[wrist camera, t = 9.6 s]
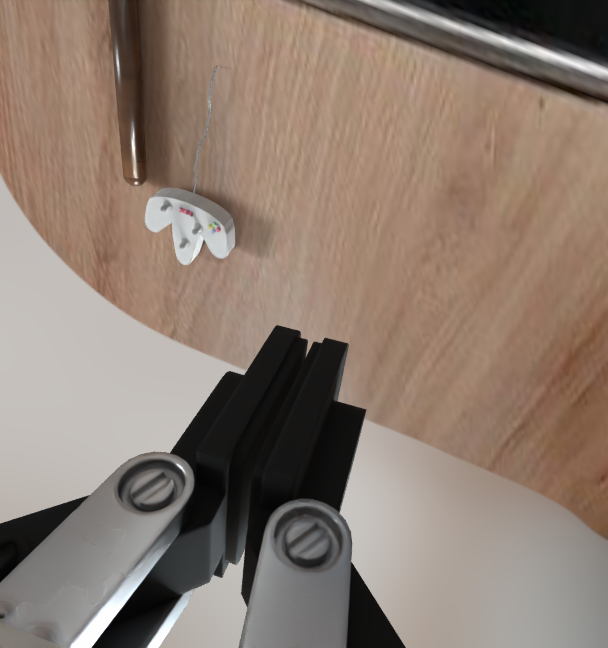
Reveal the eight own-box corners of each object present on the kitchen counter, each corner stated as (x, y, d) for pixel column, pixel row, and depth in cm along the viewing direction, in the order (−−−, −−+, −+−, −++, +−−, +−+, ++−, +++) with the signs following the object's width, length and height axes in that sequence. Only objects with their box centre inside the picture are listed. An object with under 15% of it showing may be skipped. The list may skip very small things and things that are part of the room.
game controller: (165, 254, 34) (144, 270, 32) (129, 66, 28) (101, 70, 26) (242, 261, 33) (225, 278, 31) (221, 64, 27) (199, 68, 25)
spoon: (71, -194, 23) (50, -205, 22) (165, -187, 22) (149, -198, 21) (108, 175, 32) (95, 181, 31) (175, 190, 31) (164, 196, 30)
